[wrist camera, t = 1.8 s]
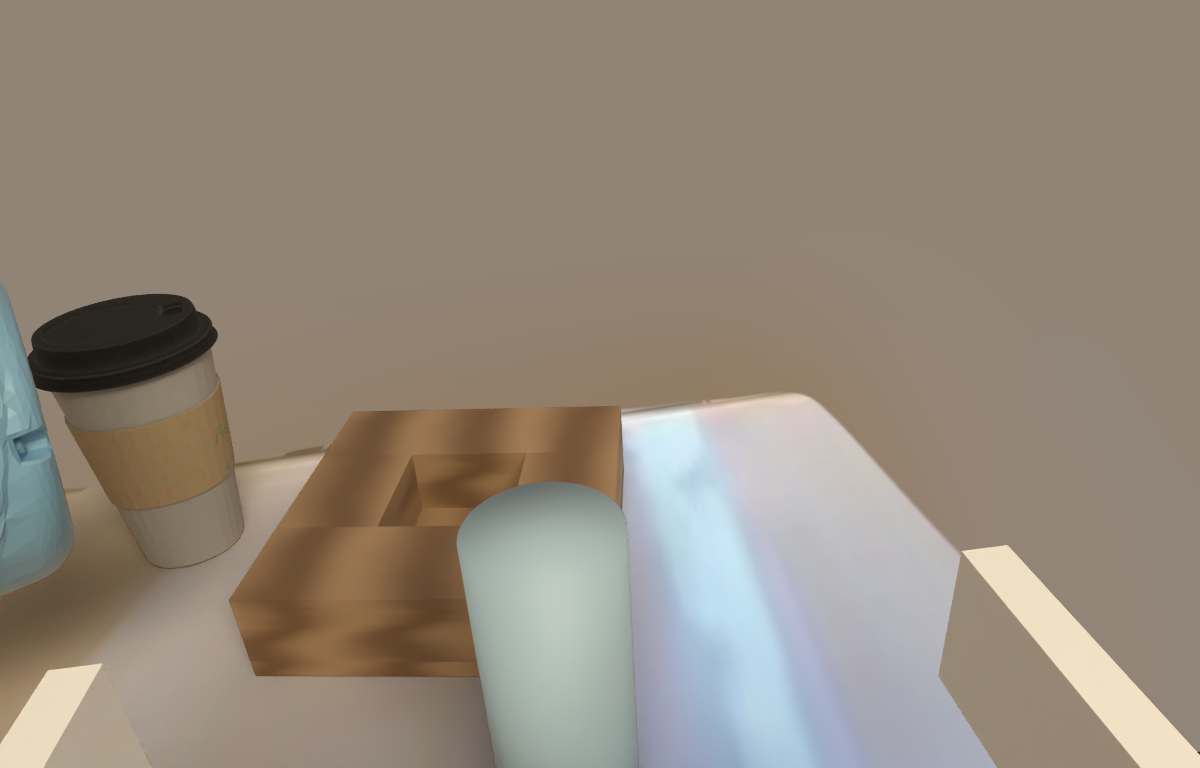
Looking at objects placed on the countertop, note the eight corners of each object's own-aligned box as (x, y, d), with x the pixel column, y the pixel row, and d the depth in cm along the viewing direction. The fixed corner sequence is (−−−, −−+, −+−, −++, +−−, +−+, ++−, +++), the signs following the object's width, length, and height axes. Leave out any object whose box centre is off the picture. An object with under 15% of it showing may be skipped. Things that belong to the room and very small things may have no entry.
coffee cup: (302, 524, 51) (241, 306, 44) (158, 612, 45) (59, 373, 38) (223, 479, 56) (157, 278, 49) (82, 552, 50) (-16, 332, 43)
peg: (504, 928, 29) (438, 589, 21) (523, 800, 33) (474, 482, 26) (643, 932, 28) (624, 588, 21) (643, 801, 33) (629, 480, 25)
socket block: (255, 675, 40) (228, 600, 38) (367, 473, 56) (353, 411, 54) (613, 677, 39) (608, 598, 36) (623, 469, 55) (620, 405, 52)
